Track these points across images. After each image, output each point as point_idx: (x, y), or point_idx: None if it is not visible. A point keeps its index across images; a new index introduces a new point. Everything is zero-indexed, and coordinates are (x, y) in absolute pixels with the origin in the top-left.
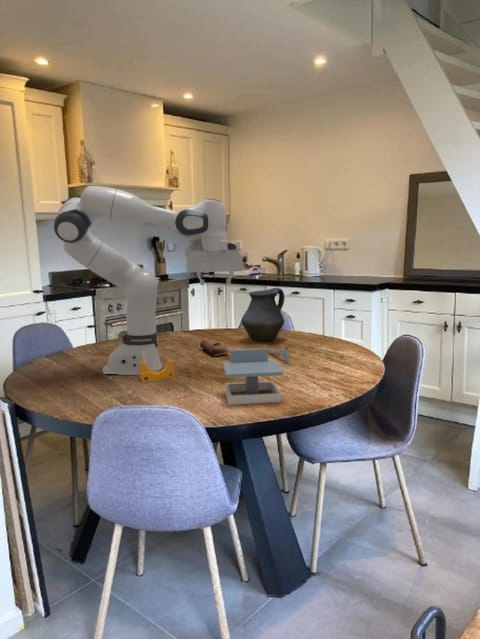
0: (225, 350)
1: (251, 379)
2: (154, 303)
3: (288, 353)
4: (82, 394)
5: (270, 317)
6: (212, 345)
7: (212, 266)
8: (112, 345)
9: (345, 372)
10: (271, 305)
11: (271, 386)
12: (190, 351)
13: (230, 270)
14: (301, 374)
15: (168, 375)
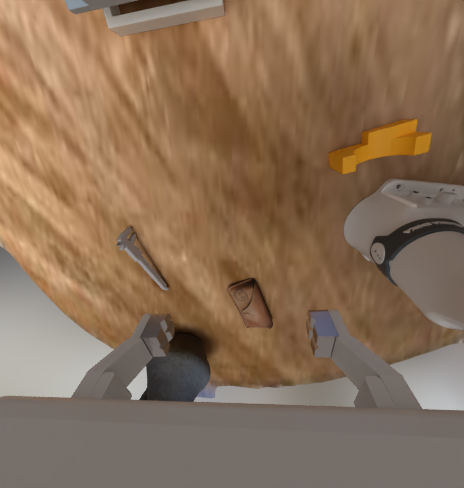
0: (233, 289)
1: None
2: None
3: (119, 235)
4: None
5: (160, 365)
6: (254, 298)
7: (255, 485)
8: (401, 344)
9: (22, 170)
10: (152, 390)
11: (113, 7)
12: (287, 306)
13: (79, 404)
14: (93, 161)
15: (344, 149)
